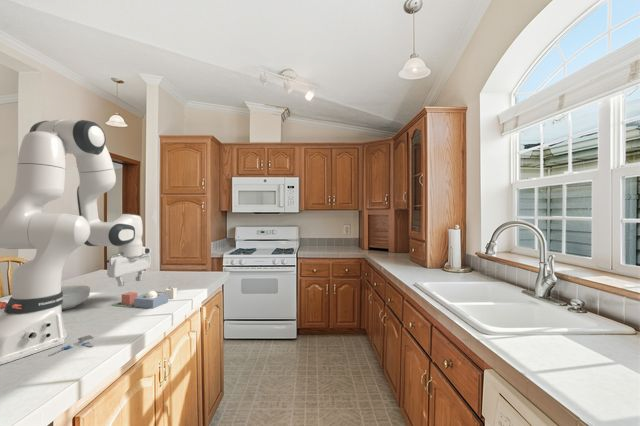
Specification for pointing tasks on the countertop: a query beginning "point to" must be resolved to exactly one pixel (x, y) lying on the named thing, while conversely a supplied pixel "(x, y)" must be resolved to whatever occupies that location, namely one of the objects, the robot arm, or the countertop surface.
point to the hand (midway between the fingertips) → (130, 283)
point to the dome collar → (150, 301)
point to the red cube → (128, 298)
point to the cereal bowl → (74, 296)
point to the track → (137, 296)
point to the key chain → (78, 344)
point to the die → (171, 292)
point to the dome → (151, 294)
